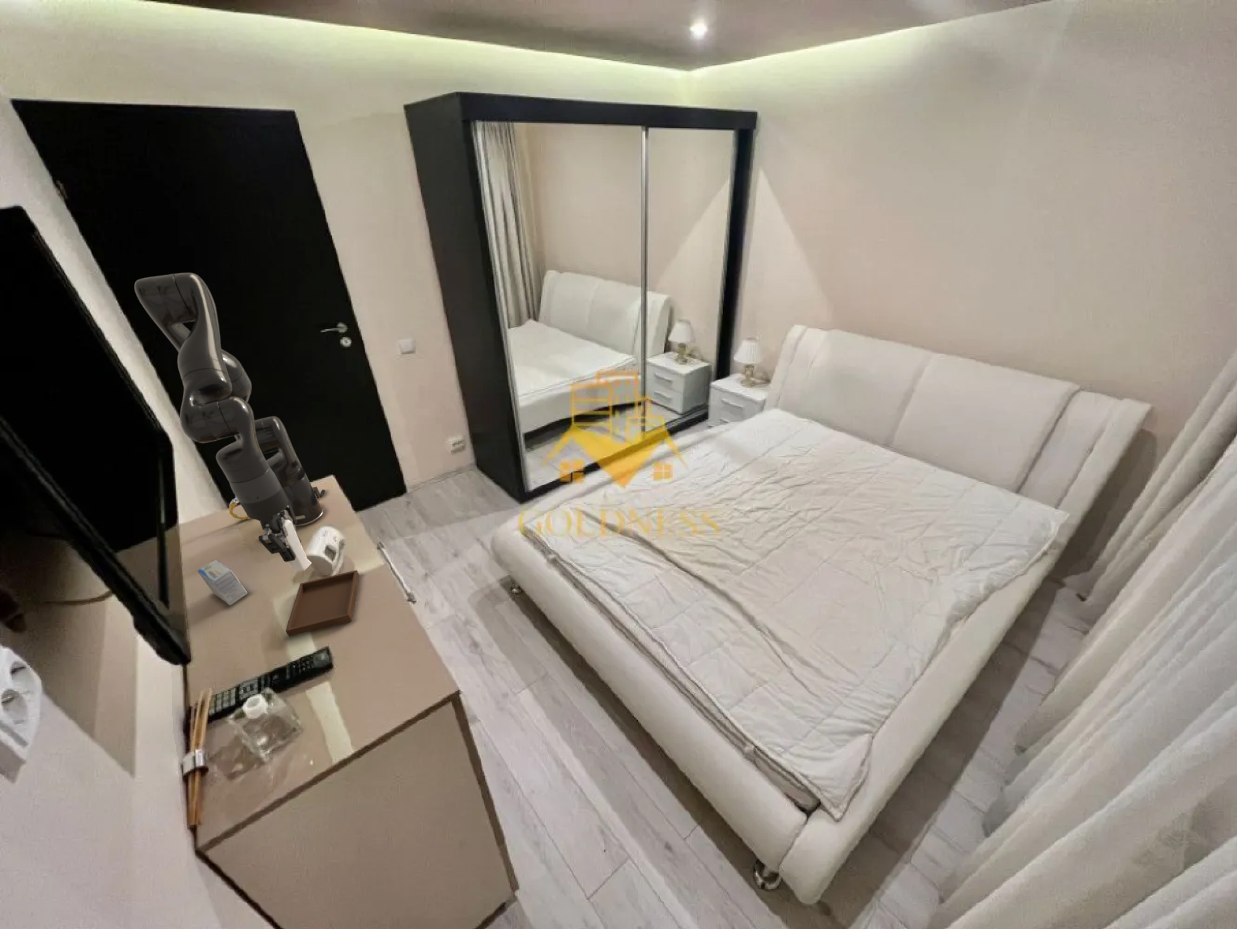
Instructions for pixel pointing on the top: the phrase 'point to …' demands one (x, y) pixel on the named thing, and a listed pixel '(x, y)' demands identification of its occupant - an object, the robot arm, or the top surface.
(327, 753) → the top surface
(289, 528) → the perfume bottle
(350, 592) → the tray
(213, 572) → the medicine box
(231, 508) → the ring
